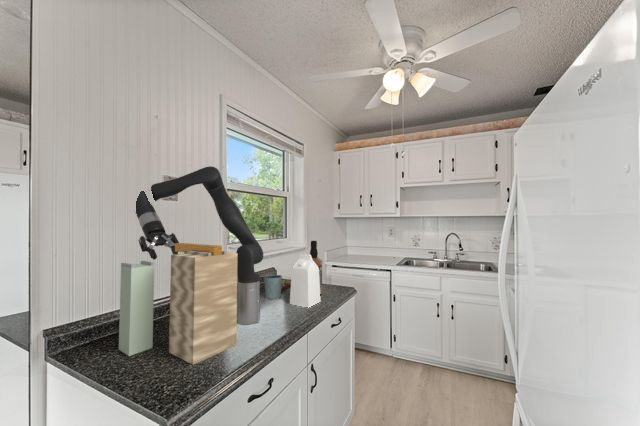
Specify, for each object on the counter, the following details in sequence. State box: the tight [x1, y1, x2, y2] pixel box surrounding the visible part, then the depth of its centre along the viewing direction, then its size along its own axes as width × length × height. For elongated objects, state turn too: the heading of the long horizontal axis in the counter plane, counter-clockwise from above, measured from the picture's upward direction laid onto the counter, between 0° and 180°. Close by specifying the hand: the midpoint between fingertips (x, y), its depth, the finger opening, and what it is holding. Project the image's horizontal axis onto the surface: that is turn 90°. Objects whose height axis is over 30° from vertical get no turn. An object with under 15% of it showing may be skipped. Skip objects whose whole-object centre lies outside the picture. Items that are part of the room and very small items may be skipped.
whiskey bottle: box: [309, 240, 324, 294], centre depth 163 cm, size 10×10×32 cm
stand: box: [168, 250, 238, 365], centre depth 92 cm, size 14×16×33 cm
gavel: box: [281, 279, 291, 293], centre depth 173 cm, size 21×5×10 cm
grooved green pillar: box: [118, 260, 155, 357], centre depth 92 cm, size 8×7×29 cm
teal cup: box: [263, 274, 283, 300], centre depth 155 cm, size 10×10×12 cm
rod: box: [175, 242, 223, 256], centre depth 96 cm, size 24×3×3 cm, turn 56°
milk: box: [289, 253, 322, 309], centre depth 144 cm, size 12×12×26 cm
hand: (166, 256), depth 110 cm, fingers open, 8 cm apart
